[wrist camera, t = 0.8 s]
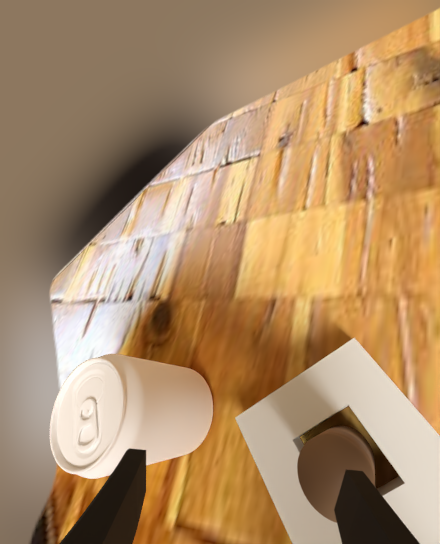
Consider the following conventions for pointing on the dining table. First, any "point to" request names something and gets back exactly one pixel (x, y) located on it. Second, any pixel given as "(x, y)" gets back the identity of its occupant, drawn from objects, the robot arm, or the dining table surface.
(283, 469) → the block
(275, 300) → the dining table surface
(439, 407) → the dining table surface
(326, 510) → the walnut dowel
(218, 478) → the dining table surface
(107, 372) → the beverage can
